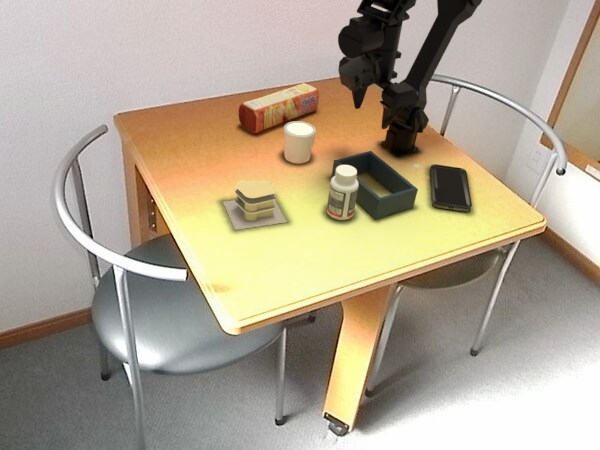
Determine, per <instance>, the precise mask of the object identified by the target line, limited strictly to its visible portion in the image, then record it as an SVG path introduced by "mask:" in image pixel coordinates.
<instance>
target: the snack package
mask: <svg viewBox="0 0 600 450" xmlns="http://www.w3.org/2000/svg"><path fill="white" fill-rule="evenodd" d="M319 102H320V92H319V90H318V89H317V88H316V87H315V86H313V85H311V84H308V83H305V82H302V83H300V84H297V85H294V86H291V87H289V88H285V89H282V90H279V91H276V92H272V93H269V94H267V95H264V96H261V97H257V98H254V99H251V100H247V101H243V102H241V103H240V104H239V107H238V121H239V122H240V125H241V126H242V127H243V129H245V130H246V131H248V132H250V133H253V134H258V133H260V132H261V131H264V130H267V129H270V128H272V127H275V126H278V125H280V124H283V123H285V122H288V121H290V120H293V119H296V118H298V117H302V116H304V115H307V114H310V113H313V112H315V111H317V109H318V108H319Z"/></svg>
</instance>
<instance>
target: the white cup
mask: <svg viewBox="0 0 600 450" xmlns="http://www.w3.org/2000/svg"><path fill="white" fill-rule="evenodd" d="M316 132H317V129H316V127H315V126H314V125H313V124H311V123H309V122H306V121H301V120H299V121H298V120H295V121H289V122H287V123H285V125H284V126H283V150H284V154H283V156H284V159H285V160H286V161H288V162H289V163H293V164H298V165H299V164H300V165H301V164H305V163H307V162H309V161H310V159H311V155H312V152H313V151H312V150H313V146H314V141H315V137H316Z"/></svg>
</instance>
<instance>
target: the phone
mask: <svg viewBox="0 0 600 450" xmlns="http://www.w3.org/2000/svg"><path fill="white" fill-rule="evenodd" d="M429 176H430V177H429V180H430V181H429V182H430V195H431V205H432V206H433V207H435V208H436V209H441V210H442V209H443V210H448V211H449V210H450V211H457V212H464V213H468V212H471V211H472V210H471V209H472V206H473V203H472V197H471V191H470V186H469V180H468V178H469V177H468V172H467V170H466V169H465V168H462V167H457V166H449V165H443V164H436V163H435V164H433V163H432V164H431V165H430V168H429Z"/></svg>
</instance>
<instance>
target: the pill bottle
mask: <svg viewBox="0 0 600 450" xmlns="http://www.w3.org/2000/svg"><path fill="white" fill-rule="evenodd" d="M357 175H358V174H357V170H356V169H355V168H354V167H353V166H350V165H340V166H338V167H337V168H336V171H335V176H334V177H333V178H330V182H329V187H328V189H329V190H328V197H327V203H326V213H327V215H328V216H329V217H331V218H332V219H334V220H339V221H345V220H349V219H351V218H352V217H353V216H354V213H355V209H356V204H357V202H356V198H357V192H358V187H359V183H358V181H357V179H356V177H357ZM357 178H358V177H357Z"/></svg>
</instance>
